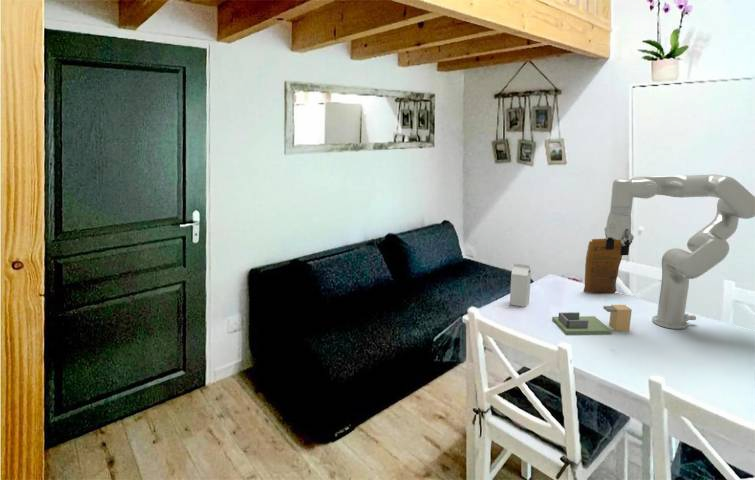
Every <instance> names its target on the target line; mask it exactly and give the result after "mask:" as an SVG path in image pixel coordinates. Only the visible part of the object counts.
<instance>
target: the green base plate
mask: <svg viewBox="0 0 755 480" xmlns="http://www.w3.org/2000/svg"><path fill="white" fill-rule="evenodd" d="M551 320H552V322H553V323H555V325H556V326H557V327H558V328H559V329H560V330H561V331H562V332H563V334H564V335H567V336H575V335H612V334H613V333H612V332H613V331H612V330H611V328H610V327H608V326H607V325H606V324H605V323H604V322H602V321H601V320H600V319H599V318H597V317H596V316H595V315H592V316H591V315H590V316H588V315H587V316H586V315H585V316H582V315H580V312H579V311H578V312H577V311H575V312H574V311H573V312H558V316H552V317H551Z"/></svg>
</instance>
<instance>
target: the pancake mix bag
mask: <svg viewBox="0 0 755 480" xmlns="http://www.w3.org/2000/svg"><path fill="white" fill-rule="evenodd" d="M613 240H614V249H609V250H607V249H606V238H592V239H591V241H589V242H588V246H587V251H586V256H585V264H584V267H585V268H584V287H583V292H584V293H589V294H614V293H616V292H617V279H618V276H619V270H620V265H621V261H622V259H623V255H620V251H621V245H622V243H621V240H616V239H613ZM625 241H626V240H624V242H625Z"/></svg>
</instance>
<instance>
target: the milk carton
mask: <svg viewBox="0 0 755 480" xmlns="http://www.w3.org/2000/svg"><path fill="white" fill-rule="evenodd" d="M531 276H532V270H531V267H530V265H529V264H522V263H513V267H512V271H511V276H510V290H509V291H510V293H509V305H511V306H517V307H523V308H525V307H526V306H527V305H528V304H529V303H530V291H531V279H532V277H531Z"/></svg>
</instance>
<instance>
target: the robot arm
mask: <svg viewBox="0 0 755 480" xmlns="http://www.w3.org/2000/svg"><path fill="white" fill-rule="evenodd" d="M657 195H658V196H666V197H670V198H671V197H672V198H681V199H682V198H702V197H703V198H707V197H709V198H710V197H712V198H716V199H717V203H716V213H715V214H716V215H715V217H714V218H713V220H712V221H711V222H709V224H707V225H706V226H704V227H703V228H702V229H700V230H698V231H697V232H696V233H694V235H692V236H691V237H690V238H689V239H688V240H687V243H686V247H687V249H688V250H689V251H687V250H685V249H681V248H679V247H678V248H677V247H673V248H670V249H668V250H666V251H665V253H664V254H663V256H662V257H661V281H660V282H661V283H660V289H659V290H660V292H659V299H658V306H657V315H655V316H652V319H651V320H652V322H653V323H654V324H656V326H660V327H663V328H666V329H673V330H682V329H683V330H684V329H686V328H688V326H689V323H688V321H696V320H697V316H696V315H689V314H688V313H686V308H687V307H686V306H687V301H688V300H687V299H688V293H689V287H690V280H694V279H697V278H699V277H700V276H702V275H704V274H705V273H707V272H708V271H709V270H711V269H712V268H714V267H715V266H717V265H718V264H720V263H721V262H722V261H724V260H725V258H726V257H727V255H728V254H729V252H730V244H729V242H728V239H729V238H730V237H732V236H733V235H734V234H735V232H736V231H737V229H738V225H739V220H740V219H743V220H745V219H746V220H747V219H752V218H754V217H755V195H753V194H752V193H751V191H749V190H748V189H747V188H746V187H745V186H744V185H743V184H741V183H740V182H739V181H738V180H737V179H736V178H733V177H731V176H729V175H722V174H693V175H691V174H690V175H689V174H688V175H687V174H686V175H665V176H664V175H661V176H660V175H655V176H654V175H652V176H651V175H649V176H635V177H632V178H630V179H629V178H617V179H614V180H613V182H612V188H611V197H610V198H611V202H610V209H609V214H608V216H607V220H606V227H604V235H605V239H606V249H607V250H609V249H614V240H613V239H616V240H621V243H622V245H621V251H620V255H622V256H629V251H630V246H631V244H632V243H633V240H634V238H635V235H633V233H632V211H633V210H632V208H633V200H634V198H638V199H639V198H640V199H644V200H645V199H646V200H647V199H651V198H653V197H655V196H657ZM624 240H626V241H625V242H624Z"/></svg>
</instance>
